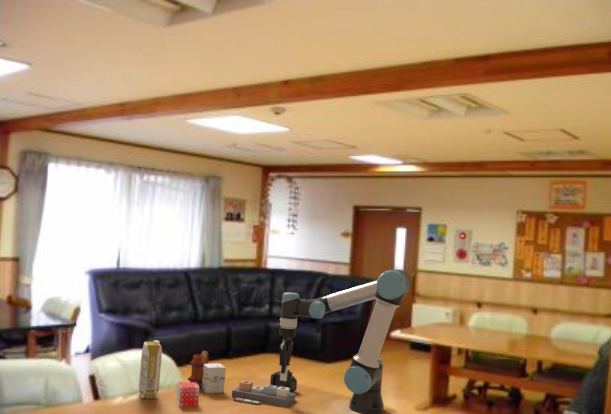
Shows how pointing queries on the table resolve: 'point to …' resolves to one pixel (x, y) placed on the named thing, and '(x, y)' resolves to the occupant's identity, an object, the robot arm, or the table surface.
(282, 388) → the key ivory
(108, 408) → the table surface
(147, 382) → the juice carton
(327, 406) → the table surface
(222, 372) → the ink box
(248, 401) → the tile
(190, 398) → the small box
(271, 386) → the key slate
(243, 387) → the key terracotta
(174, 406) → the table surface
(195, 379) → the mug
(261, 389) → the key sage
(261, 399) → the keypad base
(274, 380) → the camera
